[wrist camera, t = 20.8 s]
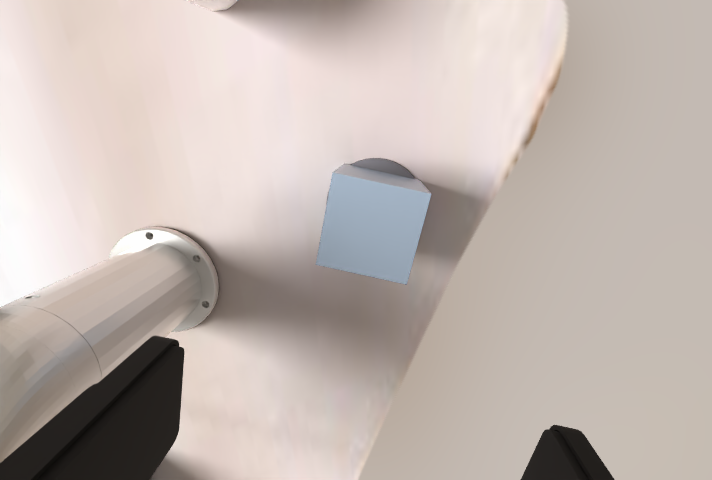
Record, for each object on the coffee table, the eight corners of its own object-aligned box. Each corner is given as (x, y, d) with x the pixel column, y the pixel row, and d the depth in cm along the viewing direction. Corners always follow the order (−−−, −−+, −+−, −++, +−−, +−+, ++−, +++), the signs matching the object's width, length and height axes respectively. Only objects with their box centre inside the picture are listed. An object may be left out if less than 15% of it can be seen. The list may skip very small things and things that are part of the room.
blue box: (401, 250, 37) (406, 284, 29) (330, 235, 37) (315, 264, 29) (419, 179, 35) (431, 193, 26) (344, 163, 35) (332, 172, 26)
